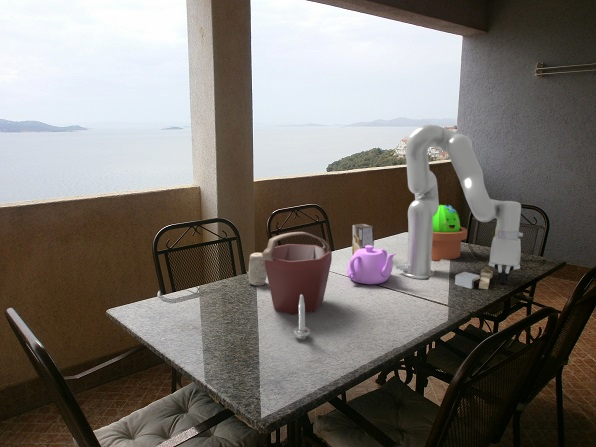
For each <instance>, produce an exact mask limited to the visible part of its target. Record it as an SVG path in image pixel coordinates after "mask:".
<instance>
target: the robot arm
mask: <svg viewBox="0 0 596 447" xmlns="http://www.w3.org/2000/svg"><path fill="white" fill-rule="evenodd" d="M430 148H435V149H436V150H440V151H442V152H444V153H446V154H447V155H448V156H447V157H449V160H450V162H451V164H452V166H453V169H454V171H455V172H456V175H457V178H458V180H459V182H460V186H461V189H462V190H463V195H464V197H465V200H466V201H467V204H468V206H469V208H470V210H471V212H472V215H473V216H474V218H475V219H476V220H478V221H479V222H481V223H488V222H491V221H492V220H494V219H496V227H495V232H496V236H495V235H494V236H493V238H492V242H491V245H490V246H491V247H490V253H489V261H488V266H489V267H493V268H495V269H496V270H497V272H498V281H499V283H500V284H506V282H508V276H509V273H510V272H511V271H513V270H520V269H521V265H520V263H521V251H522V250H521V249H522V246H521V237H522V238H523V237H524V233H523V232H520V231H519V230H520V223H521V222H520V221H521V214H522V213H521V212H522V204H521V203H520V202H518V201H514V200H497V199H492V198H490V196H489V193H488V190H487V189H486V186H485V182H484V173H483V168H482V167H481V165H480V163H479V161H478V158H477V156H476V154H475V152H474V149H473V141H472V140H471V138H470V137H469V136H467V135H464V134H461V133H458V132H457V131H456V132H455V131H453V130H450V129H448V128H445V127H443V126H439V125H436V124H425V125H422V126H420V127H418V128H416V129H415V130H414V131H413V132H412V133H411V134H410V135H409V137H408V139H407V140H406V144H405V159H406V175H407V188H408V190H409V191H410V192H411V193H412V194H414V200H413V201H412V202H411V203H410V205H409V207H408V210H407V220H408V221H407V222H408V223H407V224H408V231H407V232H408V235H407V255H406V256H407V258H406V261H405V262H404V263H403V264H394V266H395V267H394V268H395V270H399V271H402V274H403V275H404V277H407V278H412V279H419V280H422V279H423V280H425V279H430V278H431V277H432V276H433V275H434V274H435V271H433V270H432V260H431V258H432V240H433V216H434V215H435V214H436V213H437V212H438V209H439V206H440V203H439V190H438V181H437V180H438V179H437V177H436V175H435V173H433V171H432V170H430V161H429V155H428V151H429V149H430ZM503 266H506V267H505V269H503Z"/></svg>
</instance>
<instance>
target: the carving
mask: <svg viewBox="0 0 596 447" xmlns="http://www.w3.org/2000/svg"><path fill="white" fill-rule="evenodd" d="M262 253H263V252H253V253H251V254H249V262H248V273H247V274H248V282H249V284H251V285H253V286H258V287H259V286H264V285H265V284H266V281H267V279H268V278H267V273H266V268H265V259H264V257H263V256H262Z"/></svg>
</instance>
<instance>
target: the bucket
mask: <svg viewBox="0 0 596 447" xmlns="http://www.w3.org/2000/svg"><path fill="white" fill-rule="evenodd" d="M293 236H308V237H312V238H313V239H316V240H319V242H320V243H321V244H322V245H323V247H321V246H319V245H317V244H300V243H299V244H296V243H286V244H283V245H277V246H276V243H277V242H278V241H281V240H284V239H286V238H290V237H293ZM261 253H262V256H263V257H264V259H265V268H266V273H267V278H266V279H267V283H268V287H269V290H270V295H271V300H272V305H273V309H274V311H277V312H281V313H283V314H284V313H285V314H287V315H291V316H297V315H299V300H300V295H301V294H302V295H303V298H304V303H305V304H304V305H305V314H312V313H316V312H317V310H319V308H320V307H321V306H323V303H324V298H325V295H326V294H325V293H326V289H327V284H328V280H329V274H330V269H331V265H332V260H333V259H332V258H333V257H332V254H333V253H332V251H331V250H330V245H329V244H328V242H327V241H326V240H325V239H324V238H321V237H319V236H317V235H314V234H311V233H309V232H305V231H294V232H287V233H282V234H279V235H275V236H273V237H271V238H269V239H268V243H267V247H266V248H265V249H264V251H263V252H261Z"/></svg>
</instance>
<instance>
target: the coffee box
mask: <svg viewBox="0 0 596 447" xmlns="http://www.w3.org/2000/svg"><path fill="white" fill-rule="evenodd" d="M367 245H371V246H374V245H375V227H374V226H373V225H369V224H366V223H355V224H352V245H351V246H352V248H351V249H352V251H351V253H352V256H353V255H354V253H355V252H356V251H357V250H358V249H363V248H365V246H367ZM373 249H375V246H374V248H373ZM352 256H351V257H352Z"/></svg>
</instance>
